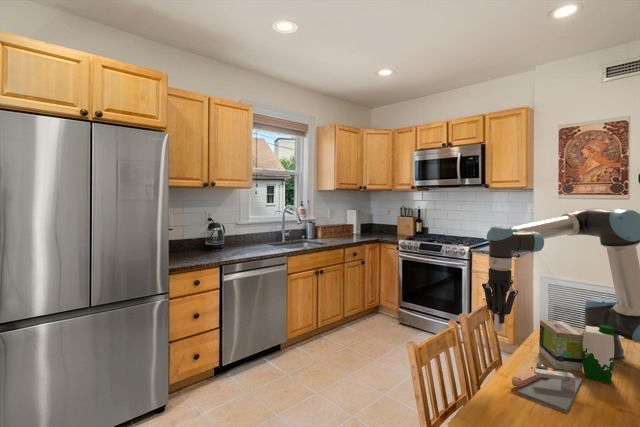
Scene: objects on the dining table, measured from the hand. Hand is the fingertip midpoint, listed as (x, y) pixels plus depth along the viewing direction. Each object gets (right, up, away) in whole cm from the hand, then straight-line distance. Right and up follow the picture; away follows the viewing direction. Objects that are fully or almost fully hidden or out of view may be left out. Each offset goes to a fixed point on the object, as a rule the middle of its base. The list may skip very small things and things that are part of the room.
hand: (498, 330), depth 124 cm
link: (+11, -16, -3) cm, 20 cm away
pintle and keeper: (+16, -17, -6) cm, 24 cm away
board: (+16, -18, -6) cm, 25 cm away
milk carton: (+38, -18, +1) cm, 42 cm away
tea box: (+33, -18, +13) cm, 39 cm away
